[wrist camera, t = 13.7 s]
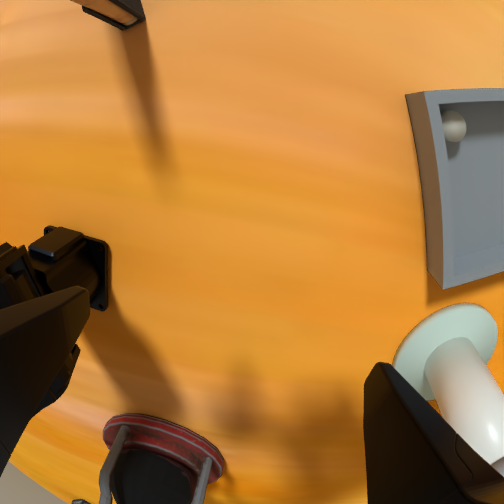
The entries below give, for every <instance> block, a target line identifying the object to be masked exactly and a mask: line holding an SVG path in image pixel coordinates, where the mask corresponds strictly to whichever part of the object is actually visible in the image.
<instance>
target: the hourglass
mask: <svg viewBox="0 0 504 504" xmlns="http://www.w3.org/2000/svg"><path fill="white" fill-rule="evenodd" d="M103 439H104V441H105V443H106V445H107V447H108V449H109V450H110V451H109V453H108V456H107V458H106V460H105V462H104V464H103V466H102V469H101V471H100V476H99V486H100V491H101V495H100V500H99V504H112V499H113V497H114V499H115V501H116V503H117V504H191V503H192V504H203V502H204V497H205V493H206V488H207V484H209V483H212V482H215V481H216V480H217V479H218V478H219V477H220V476H221V475H222V470H223V457H222V456H221V454H220V453H219V451H218V450H217V448H215V447H214V446H213V445H212V444H210V443H209V442H208V441H207V440H206V439H204V438H203V437H201V436H199V435H197V434H195V433H194V432H192V431H190V430H188V429H186V428H184V427H182V426H179V425H176V424H174V423H171V422H169V421H166V420H163V419H159V418H154V417H150V416H146V415H137V414H122V415H118V416H113V417H112V418H111V419H110V420H109V421H108V422H107V424H106V425H105V427H104V429H103ZM111 492H112V493H111ZM112 494H113V497H112ZM192 500H193V502H192Z"/></svg>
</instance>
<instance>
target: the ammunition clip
mask: <svg viewBox="0 0 504 504" xmlns="http://www.w3.org/2000/svg"><path fill="white" fill-rule="evenodd" d="M71 1H73V2H75V3H78V4H80V5H82V9H83V12H85V13H87V14H90V15H92V16H94V17H96V18H98V19H100V20H103V21H105V22H107V23H109V24H111V25H113V26H115V27H117V28H119V29H121V30H123V31H124V30H126V29H128V28H130V27H131V26H133V25H135V24H137V23H139V22H141V21H143V20H145V18H146V17H145V14H144V11H143V7H142V4H141V0H71Z"/></svg>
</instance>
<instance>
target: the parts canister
mask: <svg viewBox="0 0 504 504" xmlns="http://www.w3.org/2000/svg"><path fill="white" fill-rule="evenodd" d="M424 372H425V375H426V378H427V380H428V382H429V385H430V387H431V389H432V392H433V394H434V397H435V399H436V402H437V404H438V407H439V409H440V412H441V415H442V417H443V419H444V420H445V421H446V422H447V423H448V424H449V425H450V426H451V427H452V428H453V429H454V430H455V431H456V433H458V434H459V435H460V436H461V437H462V438H463V439H464V440H465V441H466V442H467V443H468V445H469V446H470V447H471V448H472V449H473V450H475V451H476V452H477V453H478V454H479V455H480V456H481V457H482V458H483V459H484V460H485V461H487V462H488V463H489V464H490V465H491V466H492V467H493V468H494V469H496V470H497V471H498V472H499V473H500V474H501V475H502V476H503V477H504V395H503V393H502V391H501V389H500V388H499V386H498V384H497V382H496V381H495V379H494V377H493V376H492V374H491V372H490V371H489V369H488V367H487V366H486V364H485V362H484V361H483V359H482V358H481V356H480V354H479V353H478V351H477V350H476V348H475V347H474V345H473V344H472V342H471V341H470V340H469V339H468V338H465V337H456V338H453V339H450V340H448V341H446V342H444V343H442V344H441V345H439V346H438V347H437V348H436V349H435V350H434V351H433V352H432V353H431V354H430V356H429V357H428V359H427V360H426V363H425V366H424Z"/></svg>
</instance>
